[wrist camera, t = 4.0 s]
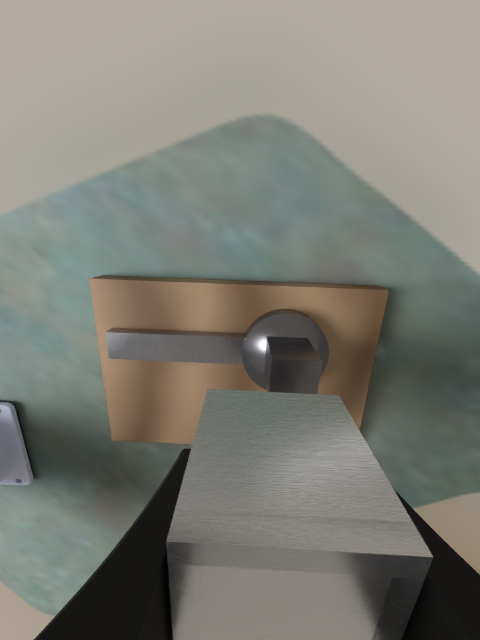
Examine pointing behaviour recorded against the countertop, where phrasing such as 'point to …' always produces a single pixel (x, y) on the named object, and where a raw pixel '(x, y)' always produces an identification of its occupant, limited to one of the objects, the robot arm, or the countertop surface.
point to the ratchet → (239, 349)
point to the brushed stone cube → (289, 527)
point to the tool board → (223, 316)
